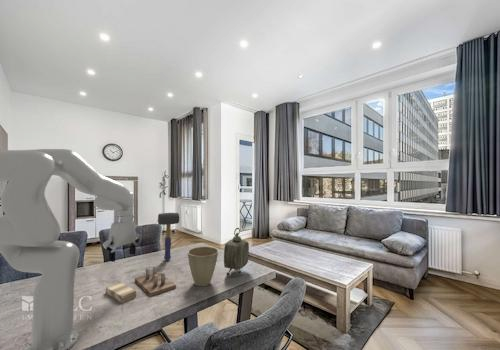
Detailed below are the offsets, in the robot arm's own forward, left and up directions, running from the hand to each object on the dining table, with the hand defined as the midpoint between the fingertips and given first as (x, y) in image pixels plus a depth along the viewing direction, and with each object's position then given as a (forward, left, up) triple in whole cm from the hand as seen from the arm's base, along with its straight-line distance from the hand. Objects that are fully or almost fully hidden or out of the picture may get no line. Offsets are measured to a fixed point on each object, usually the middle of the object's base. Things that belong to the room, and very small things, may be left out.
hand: (122, 257), depth 101 cm
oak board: (0, 0, -17) cm, 17 cm away
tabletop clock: (-16, -54, -16) cm, 58 cm away
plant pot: (-14, -33, -16) cm, 39 cm away
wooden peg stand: (0, -15, -16) cm, 22 cm away
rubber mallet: (+28, -34, -16) cm, 47 cm away
